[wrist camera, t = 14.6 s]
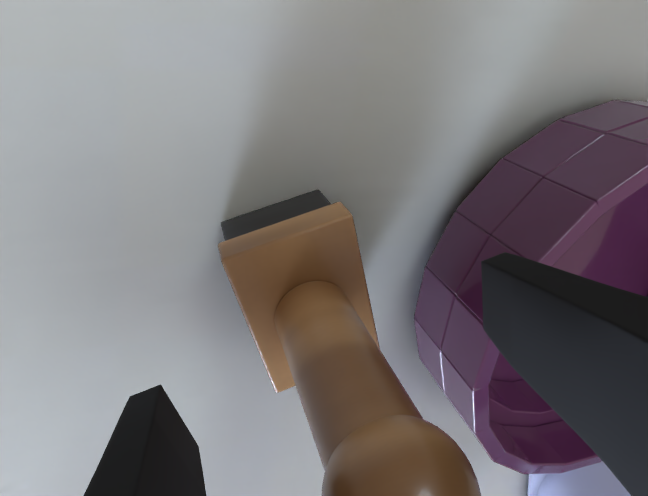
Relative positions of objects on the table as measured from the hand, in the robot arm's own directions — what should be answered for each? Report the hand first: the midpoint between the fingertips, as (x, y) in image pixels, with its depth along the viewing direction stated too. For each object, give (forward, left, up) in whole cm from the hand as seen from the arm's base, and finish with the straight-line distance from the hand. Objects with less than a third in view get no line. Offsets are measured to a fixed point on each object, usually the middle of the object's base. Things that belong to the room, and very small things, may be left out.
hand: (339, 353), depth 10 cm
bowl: (-6, -11, -6) cm, 14 cm away
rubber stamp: (-1, 0, -6) cm, 6 cm away
